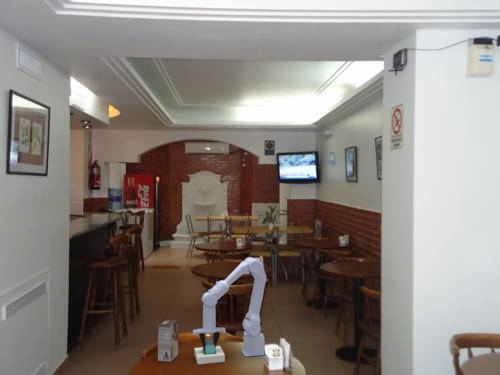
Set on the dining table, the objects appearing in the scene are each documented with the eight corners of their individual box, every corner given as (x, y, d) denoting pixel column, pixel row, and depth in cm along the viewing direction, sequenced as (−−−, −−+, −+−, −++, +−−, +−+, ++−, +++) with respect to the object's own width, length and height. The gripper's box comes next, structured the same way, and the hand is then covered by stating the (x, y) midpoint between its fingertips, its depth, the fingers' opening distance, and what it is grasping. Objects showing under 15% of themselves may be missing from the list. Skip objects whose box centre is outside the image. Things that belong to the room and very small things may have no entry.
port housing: (220, 352, 204) (220, 345, 204) (224, 361, 192) (224, 354, 192) (194, 354, 201) (194, 348, 201) (197, 364, 189) (197, 357, 189)
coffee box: (165, 353, 202) (165, 319, 202) (178, 354, 201) (178, 319, 201) (157, 361, 193) (157, 324, 193) (171, 362, 192) (171, 325, 192)
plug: (212, 350, 200) (212, 337, 200) (214, 355, 194) (214, 341, 194) (203, 351, 199) (203, 338, 199) (205, 356, 193) (205, 342, 193)
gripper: (223, 316, 202) (223, 345, 202) (192, 318, 199) (192, 348, 199) (226, 320, 196) (226, 350, 195) (194, 322, 192) (194, 353, 192)
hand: (209, 349), depth 197 cm, fingers closed on plug, 4 cm apart
